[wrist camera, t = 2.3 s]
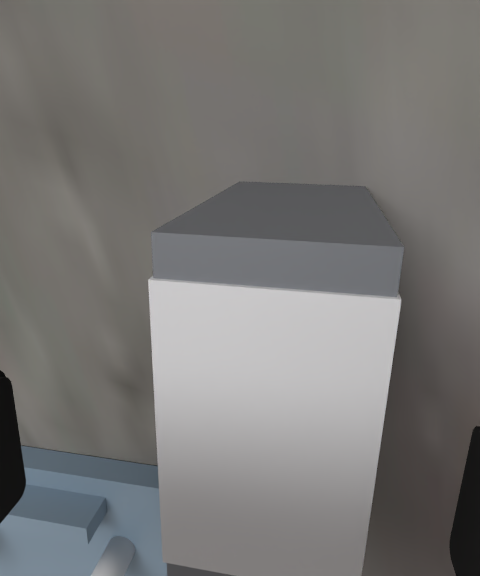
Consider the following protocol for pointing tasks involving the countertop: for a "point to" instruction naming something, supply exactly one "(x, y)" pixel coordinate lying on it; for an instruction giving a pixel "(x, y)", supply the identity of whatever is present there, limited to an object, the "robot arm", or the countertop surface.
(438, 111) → the countertop surface
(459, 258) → the countertop surface
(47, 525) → the blue fixture board
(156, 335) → the block
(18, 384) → the countertop surface
